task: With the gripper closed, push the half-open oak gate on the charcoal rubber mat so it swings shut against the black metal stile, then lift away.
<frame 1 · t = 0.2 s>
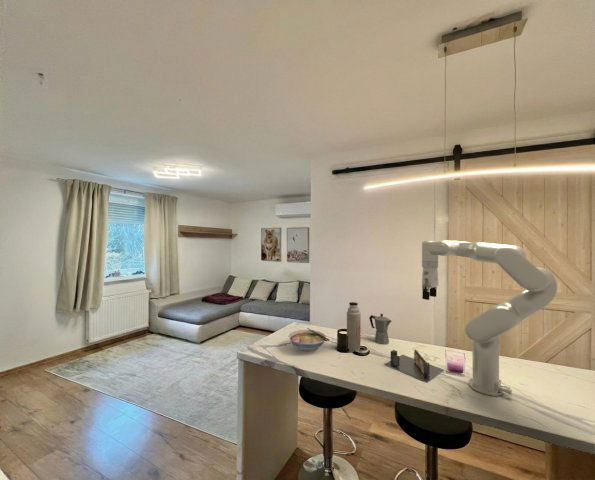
hand: (429, 297, 134), 36 cm above the breakfast bar, tool pointing down, fingers open, 9 cm apart
thermos bottle: (353, 350, 154), on the breakfast bar
gate frame: (426, 378, 123), on the breakfast bar
ramen bowl: (307, 348, 157), on the breakfast bar
gate: (420, 361, 131), point 4 cm above the breakfast bar, hinge at -45.0°
coffeepot: (380, 341, 168), on the breakfast bar
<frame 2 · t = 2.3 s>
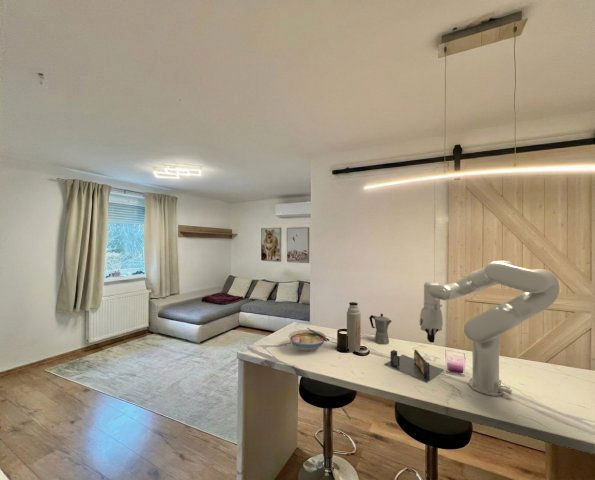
hand: (430, 341, 134), 13 cm above the breakfast bar, tool pointing down, fingers closed
nothing on the breakfast bar moved.
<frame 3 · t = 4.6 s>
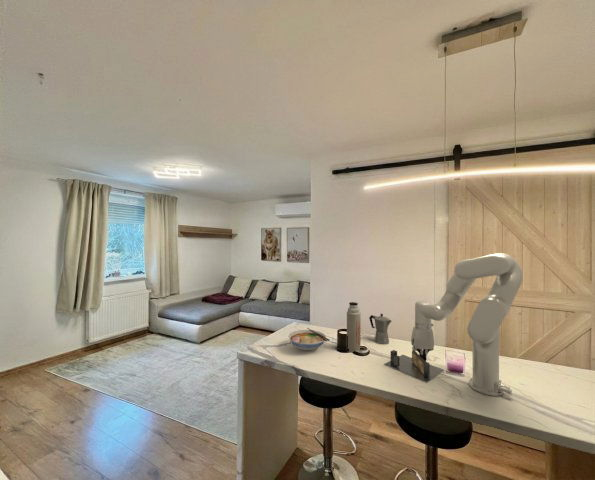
hand: (422, 361, 134), 3 cm above the breakfast bar, tool pointing down, fingers closed
gate: (418, 361, 131), point 4 cm above the breakfast bar, hinge at -40.6°, touching gripper
everything else where it was.
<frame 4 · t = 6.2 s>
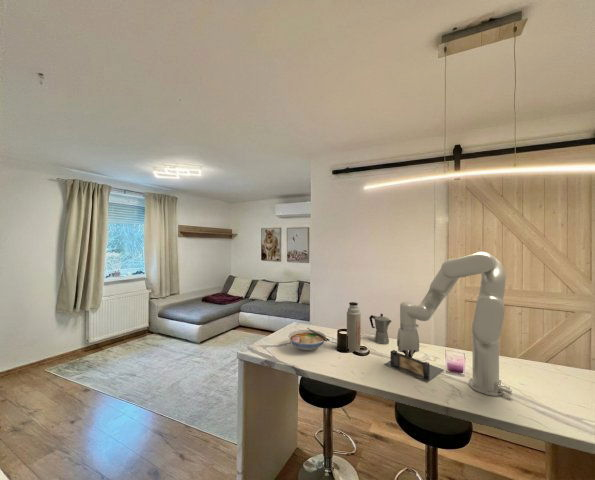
hand: (408, 362, 133), 2 cm above the breakfast bar, tool pointing down, fingers closed
gate: (409, 363, 129), point 4 cm above the breakfast bar, hinge at 0.2°, touching gripper
everything else where it was.
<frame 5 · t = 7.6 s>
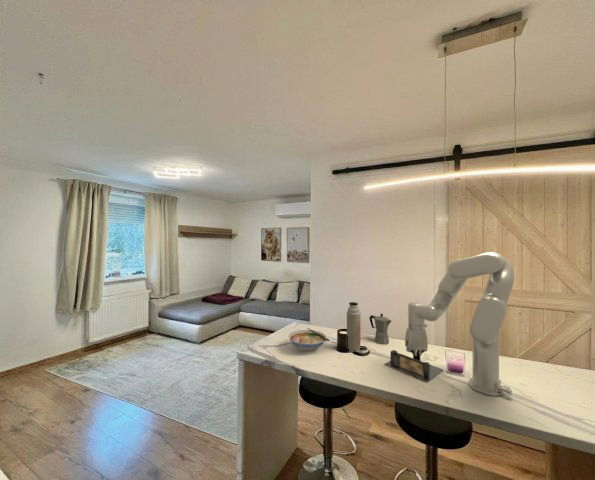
hand: (416, 362, 133), 2 cm above the breakfast bar, tool pointing down, fingers closed
gate: (409, 363, 129), point 4 cm above the breakfast bar, hinge at 0.6°
everything else where it was.
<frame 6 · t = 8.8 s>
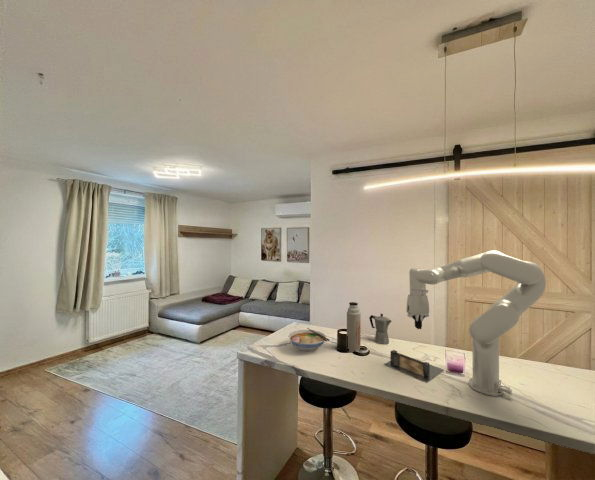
hand: (418, 328, 133), 20 cm above the breakfast bar, tool pointing down, fingers closed
nothing on the breakfast bar moved.
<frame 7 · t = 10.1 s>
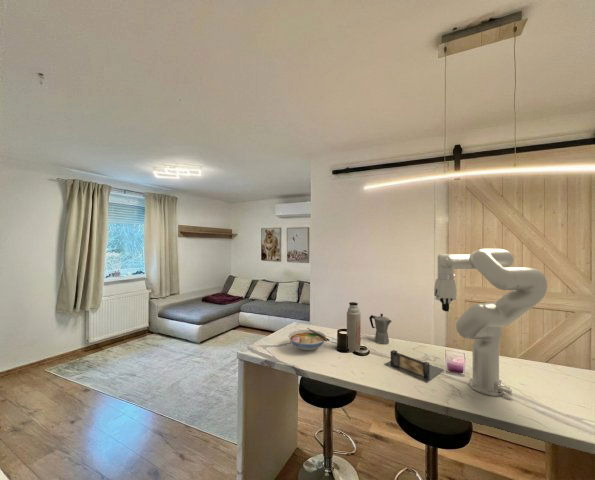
hand: (445, 310, 140), 27 cm above the breakfast bar, tool pointing down, fingers closed
nothing on the breakfast bar moved.
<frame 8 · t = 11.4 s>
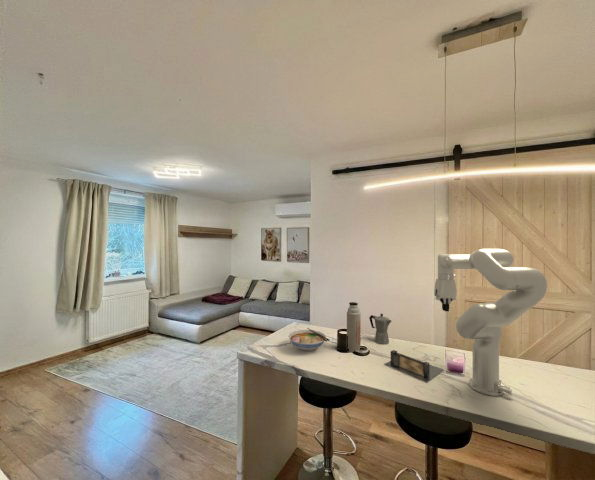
hand: (445, 310, 140), 27 cm above the breakfast bar, tool pointing down, fingers closed
nothing on the breakfast bar moved.
at the end: gate at +1° (first picture: -45°) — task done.
